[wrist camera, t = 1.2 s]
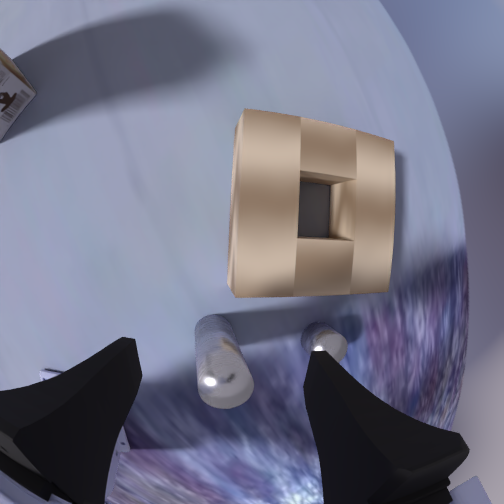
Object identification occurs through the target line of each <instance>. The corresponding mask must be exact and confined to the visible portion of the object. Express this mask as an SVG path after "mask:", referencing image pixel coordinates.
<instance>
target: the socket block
mask: <svg viewBox="0 0 504 504" xmlns="http://www.w3.org/2000/svg"><path fill="white" fill-rule="evenodd" d="M300 181H302V182H310V183H317V184H325V185H331V188H330V217H329V236H328V238H321V237H302V236H297V232H298V212H299V187H300ZM394 224H395V156H394V141H391V140H388V139H385V138H382V137H379V136H375V135H372V134H369V133H365V132H362V131H358V130H355V129H351V128H347V127H343V126H339V125H335V124H331V123H327V122H322V121H318V120H313V119H308V118H303V117H298V116H292V115H287V114H281V113H275V112H268V111H261V110H253V109H244V111H243V113H242V115H241V117H240V119H239V121H238V123H237V126H236V128H235V139H234V154H233V170H232V188H231V207H230V227H229V251H228V278H227V284H228V286H229V287H230V289H231V291H232V293H233V294H234V296H235V298H248V297H300V296H327V295H348V294H365V293H380V292H388V290H389V282H390V274H391V264H392V254H393V241H394Z"/></svg>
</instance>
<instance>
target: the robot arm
mask: <svg viewBox="0 0 504 504" xmlns="http://www.w3.org/2000/svg"><path fill="white" fill-rule="evenodd" d="M39 374H40V378H41V382H38V383H35V384H32V385H29V386H25V387H21V388H16V389H11V390H5V391H0V504H111V503H110V502H108V501H106V500H107V497H109V496H110V494H111V493H112V491H113V489H114V485H115V479H116V474H117V469H118V463H119V459H120V454H121V452H130V446H129V443H128V440H127V437H126V433H125V430H124V426H123V424H124V422H125V420H126V417H127V415H128V413H129V411H130V409H131V406H132V404H133V402H134V400H135V398H136V395H137V392H138V389H139V386H140V382H141V379H142V371H141V366H140V361H139V357H138V352H137V346H136V341H135V339H132V338H126V337H121V338H119V339H118V340H116V341H114V342H113V343H111V344H110V345H108V346H107V347H105V348H104V349H102V350H101V351H99V352H98V353H96V354H94V355H93V356H91V357H90V358H88V359H87V360H85V361H83V362H81V363H80V364H78V365H76V366H74V367H73V368H71V369H69V370H67V371H65V372H63V373H57V372H52V371H47V370H41V371H40V372H39ZM44 378H45V379H46V380H45V379H44ZM303 388H304V397H305V404H306V409H307V413H308V417H309V420H310V424H311V428H312V431H313V435H314V439H315V442H316V446H317V450H318V455H319V461H320V468H321V476H322V486H323V499H324V504H492V503H491V501H490V499H489V498H488V496H487V494H486V492H485V490H484V488H483V486H482V484H481V482H480V481H479V479H478V477H477V476H474V477H472V478H471V479H469V480H467V481H466V482H464V483H462V484H461V485H459V486H457V487H456V488H454V489H453V490H451V491H450V492H449V491H448V489H447V486H449V485H450V480H449V478H448V476H449V475H450V474H452V473H453V472H454V471H455V470H456V469H457V467H459V466H460V465H461V464H462V462H463V461H464V460H465V459H466V458H467V456H468V454H469V448H468V446H467V444H466V443H465V441H464V440H463V438H462V437H461V435H460V434H459V433H456V432H452V431H448V430H444V429H440V428H437V427H434V426H431V425H428V424H426V423H423V422H420V421H418V420H416V419H414V418H411V417H409V416H407V415H406V414H404V413H402V412H400V411H398V410H396V409H394V408H393V407H391V406H390V405H388V404H387V403H385V402H383V401H382V400H380V399H379V398H378V397H376V396H375V395H374V394H372V393H371V392H370V391H369V390H367V389H366V388H365V387H364V386H362V385H361V384H360V383H359V382H358V381H357V380H356V379H354V378H353V377H352V376H351V375H350V374H349V373H348V372H347V371H346V370H345V369H344V368H343V367H342V366H341V365H340V364H339V363H338V362H337V361H336V360H335V359H334V358H333V357H332V356H331V355H330V354H329V353H328V352H327V351H326V350H325V351H311V355H310V360H309V364H308V369H307V373H306V377H305V382H304V386H303ZM123 442H124V443H123Z"/></svg>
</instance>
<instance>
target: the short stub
mask: <svg viewBox="0 0 504 504" xmlns="http://www.w3.org/2000/svg"><path fill="white" fill-rule="evenodd" d="M301 345H302V347H303V349H304V350H305V351H306V352H307V353H308V354H309V355H311V351H325V350H326V351H327V352H328V353H329V354H330V355H331V356H332V357H333V358H334V359H335V360H336V361H337V362H338V363H339V362H340V361H341V360H342V359H343V358H344V356H345V354H346V352H347V341H346V339H345V338H344V337H343V336H342V335H341V334H339V333H338V332H336V331H335V330H334V329H332V328H331V327H330V326H328V325H327V324H326V323H323V322H315V323H313V324H311V325H309V326H308V327H307V328H306V329H305V330H304V332H303V333H302V336H301Z"/></svg>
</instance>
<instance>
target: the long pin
mask: <svg viewBox="0 0 504 504" xmlns="http://www.w3.org/2000/svg"><path fill="white" fill-rule="evenodd" d="M195 351H196V368H197V383H198V392H199V395H200V397H201V398H202V400H203V401H204V402H205V403H207V404H208V405H210V406H212V407H215V408H220V409H229V408H234V407H237V406H239V405H241V404H243V403H244V402H246V401H247V400H248V399H249V397H250V396H251V394H252V392H253V389H254V381H253V378H252V376H251V374H250V371H249V369H248V366H247V364H246V362H245V359H244V357H243V354H242V352H241V349H240V347H239V344H238V342H237V339H236V337H235V334H234V332H233V329H232V327H231V325H230V323H229V321H228V320H227V319H225V318H224V317H222V316H219V315H208V316H205V317H203V318H202V319H200V320H199V321H198V323H197V324H196V327H195Z"/></svg>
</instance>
